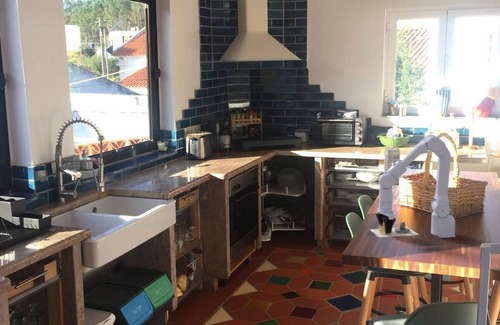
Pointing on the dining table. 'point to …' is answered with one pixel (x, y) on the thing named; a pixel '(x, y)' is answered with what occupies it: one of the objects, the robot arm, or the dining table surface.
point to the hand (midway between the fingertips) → (385, 231)
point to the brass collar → (382, 229)
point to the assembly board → (396, 231)
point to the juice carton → (391, 158)
